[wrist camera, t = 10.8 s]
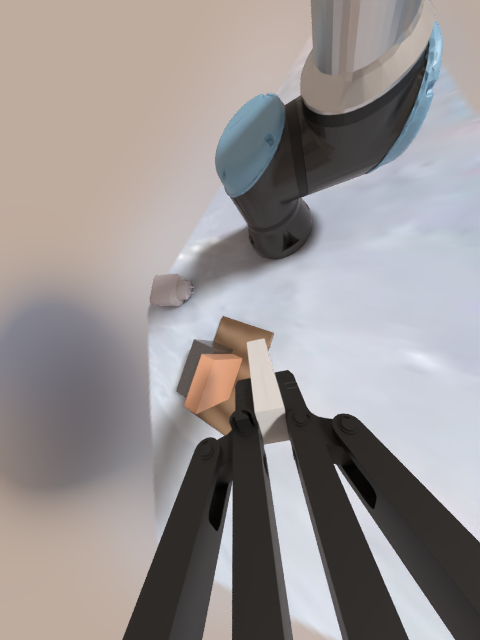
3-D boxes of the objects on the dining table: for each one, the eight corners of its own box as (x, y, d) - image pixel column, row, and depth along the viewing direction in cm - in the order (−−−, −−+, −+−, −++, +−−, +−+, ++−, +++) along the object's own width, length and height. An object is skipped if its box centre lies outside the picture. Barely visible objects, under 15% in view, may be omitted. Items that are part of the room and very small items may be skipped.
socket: (214, 341, 47) (194, 339, 40) (233, 349, 44) (215, 348, 37) (199, 385, 47) (176, 391, 40) (217, 396, 44) (196, 404, 37)
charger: (196, 307, 54) (161, 306, 60) (201, 277, 55) (166, 279, 62) (185, 303, 50) (149, 302, 56) (190, 271, 51) (154, 274, 57)
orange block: (213, 345, 47) (179, 343, 36) (242, 358, 43) (214, 360, 32) (200, 382, 47) (162, 390, 36) (229, 399, 42) (195, 414, 32)
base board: (225, 316, 49) (222, 315, 47) (274, 333, 42) (272, 332, 41) (194, 409, 48) (190, 411, 47) (238, 440, 42) (235, 443, 40)
